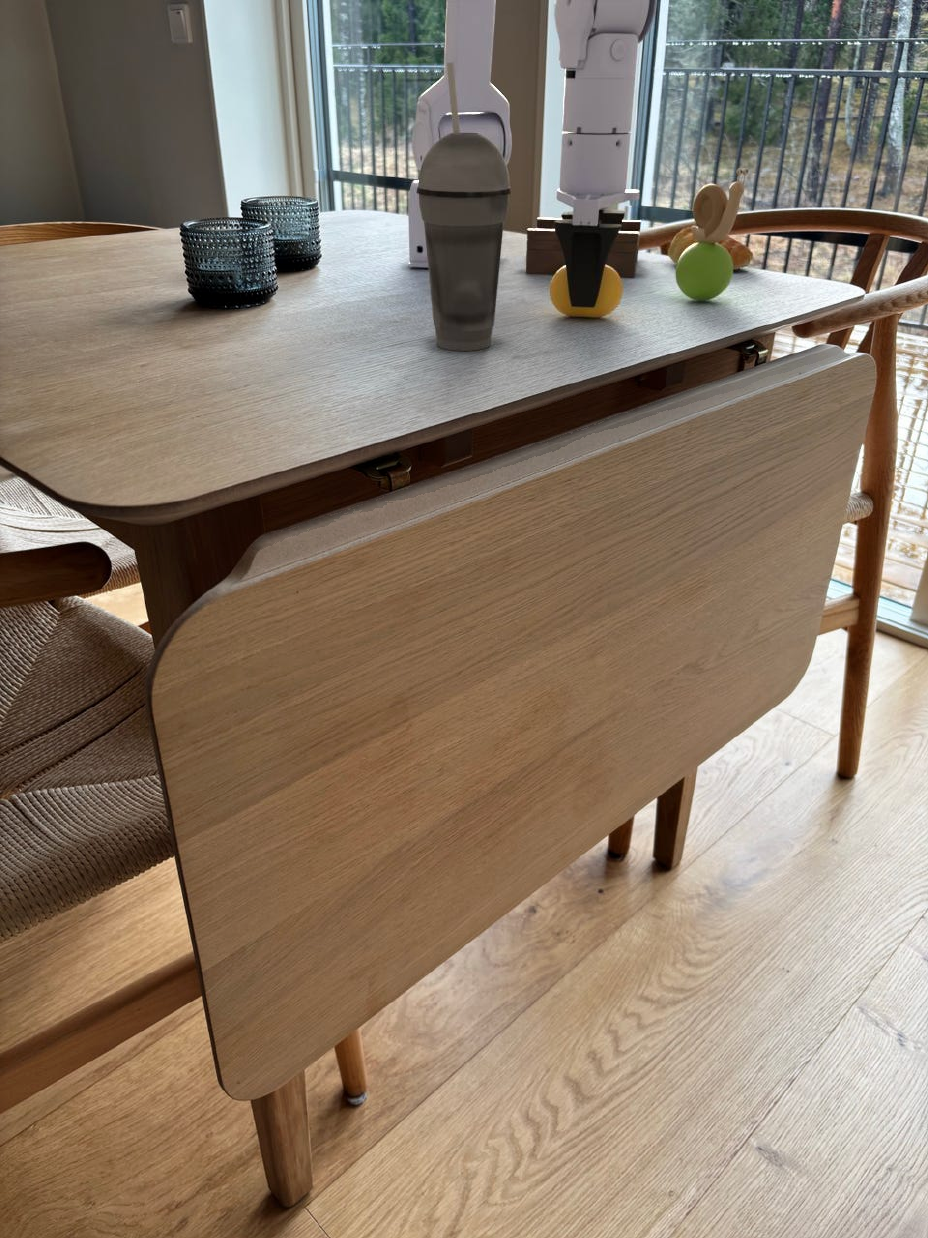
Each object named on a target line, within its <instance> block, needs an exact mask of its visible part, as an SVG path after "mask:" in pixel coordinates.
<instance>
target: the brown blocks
mask: <svg viewBox="0 0 928 1238" xmlns="http://www.w3.org/2000/svg"><path fill="white" fill-rule="evenodd" d="M556 219H562V217H561V218H559V217H537V219H536V228H527V230H526V249H525V250H526V254H525V257H526V258H525V274H533V275H534V274H535V275H538V274H539V275H555V273H556V272H557V271H558V270H559V269H560V268H562V267H563V266H565V265H566V264H565V259H564V255H563V251H562V248H561V245H560V242H559V240H558V237H557V235H556V232H555V229H554V222H555V220H556ZM621 225H622V226H621V229H620V231H619V233H618V235H617V237H616V238H615V240H614V242H613V244H612V247H611V249H610V251H609V255H608V260H607V264H606V265H607V266H610V267H611V268H613V269H614V270H615V271H616V272H617V273H618V275H619V276H620V278H635V277H636V271H637V264H638V258H639V247H640V235H641V227H642V226H641V225H642V221H641V220H633V219H631V220H630V219H629V220H628V219H627V220H626V219H623V221H622V222H621Z"/></svg>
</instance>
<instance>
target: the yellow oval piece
mask: <svg viewBox="0 0 928 1238" xmlns="http://www.w3.org/2000/svg"><path fill="white" fill-rule="evenodd" d="M621 278H622V277H620V276H619V275H618V273H617V272H616V271H615V270H614V269H613V268H611V267H610V266H607V265H605V268H604V273H603V277H602V282H601V287H600V291H599V295H598V298H597V302H596V304H595V307H594V308H590V307H572V306H571V302H570V297H569V290H568V280H567V272H566V265H565V266H563V267H562V268H560V269H559V270H558V271H557V272H556V273H555V274H553V276H552V278H551V280H550V283H549V298H550V300H551V303H552V306H553V307H554V308H555V309H556V310H557V311H558V312H559V313H561V314H562V315H564V316H568V317H574V318H575V317H577V318H602V317H606V316H607V315H610V314H611V313H612V312H613V311H615V310H616V309H617V308H618V306H619V304H621V303H620V302H621V300H622V298H623V294H624V286H623V282H622V279H621Z"/></svg>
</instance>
